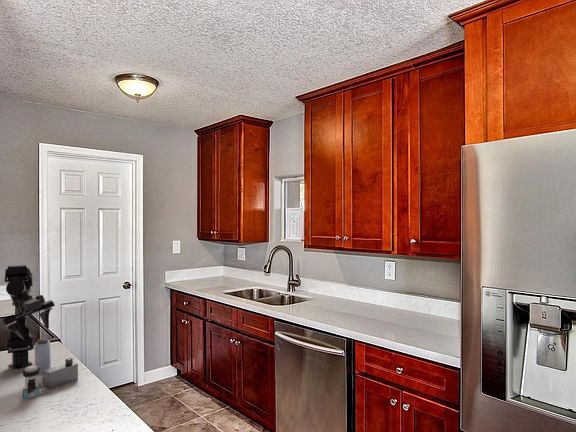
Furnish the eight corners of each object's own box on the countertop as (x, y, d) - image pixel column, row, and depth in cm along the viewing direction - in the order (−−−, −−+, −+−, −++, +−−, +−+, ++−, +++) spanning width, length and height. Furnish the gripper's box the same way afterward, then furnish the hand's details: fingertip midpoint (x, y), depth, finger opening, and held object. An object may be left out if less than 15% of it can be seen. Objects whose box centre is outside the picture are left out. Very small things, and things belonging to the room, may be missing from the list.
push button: (42, 390, 149) (42, 362, 149) (46, 395, 145) (46, 366, 145) (20, 396, 144) (20, 367, 144) (24, 401, 140) (23, 371, 140)
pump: (32, 377, 161) (31, 340, 161) (46, 373, 165) (45, 337, 165) (39, 380, 158) (39, 342, 158) (53, 375, 163) (53, 339, 163)
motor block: (36, 384, 154) (36, 362, 154) (64, 375, 163) (64, 354, 163) (50, 389, 150) (49, 366, 150) (77, 379, 158) (77, 358, 158)
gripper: (2, 300, 151) (20, 340, 151) (53, 283, 167) (69, 319, 166) (-10, 308, 157) (7, 346, 157) (40, 290, 173) (55, 325, 172)
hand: (36, 333), depth 163 cm, fingers open, 9 cm apart
